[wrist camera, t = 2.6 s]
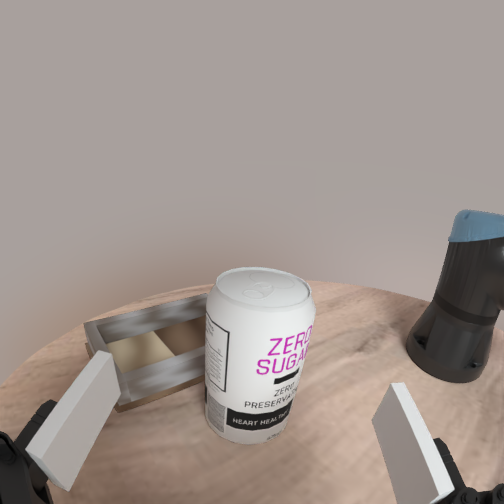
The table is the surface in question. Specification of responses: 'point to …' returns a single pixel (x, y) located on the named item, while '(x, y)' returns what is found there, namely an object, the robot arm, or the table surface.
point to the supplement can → (255, 351)
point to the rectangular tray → (153, 349)
